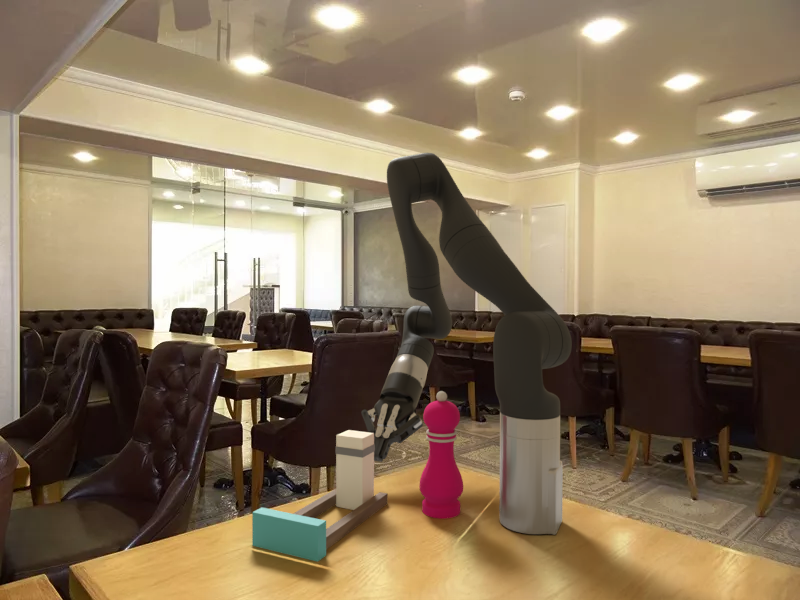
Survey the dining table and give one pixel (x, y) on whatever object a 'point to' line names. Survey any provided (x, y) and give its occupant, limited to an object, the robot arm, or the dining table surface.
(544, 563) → the dining table surface
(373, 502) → the guide rails
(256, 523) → the teal rectangular block
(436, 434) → the pepper mill
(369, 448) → the sleeve
